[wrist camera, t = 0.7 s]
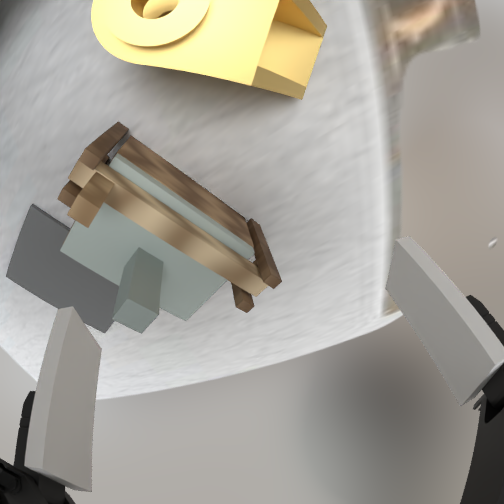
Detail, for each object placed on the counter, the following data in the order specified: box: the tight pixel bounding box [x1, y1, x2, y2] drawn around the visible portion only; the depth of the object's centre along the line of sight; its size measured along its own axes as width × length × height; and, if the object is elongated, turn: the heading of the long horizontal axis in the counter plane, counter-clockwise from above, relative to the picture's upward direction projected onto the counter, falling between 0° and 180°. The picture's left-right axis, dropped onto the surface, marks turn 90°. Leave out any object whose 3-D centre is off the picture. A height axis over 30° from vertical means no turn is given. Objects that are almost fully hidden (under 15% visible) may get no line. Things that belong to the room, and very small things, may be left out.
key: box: [67, 160, 268, 297], centre depth 27 cm, size 23×2×7 cm, turn 47°
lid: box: [60, 153, 255, 334], centre depth 29 cm, size 18×13×9 cm
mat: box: [6, 204, 119, 333], centre depth 41 cm, size 20×15×1 cm
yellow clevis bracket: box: [91, 0, 327, 100], centre depth 21 cm, size 20×9×16 cm, turn 74°
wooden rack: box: [58, 122, 282, 313], centre depth 34 cm, size 23×14×12 cm, turn 47°
